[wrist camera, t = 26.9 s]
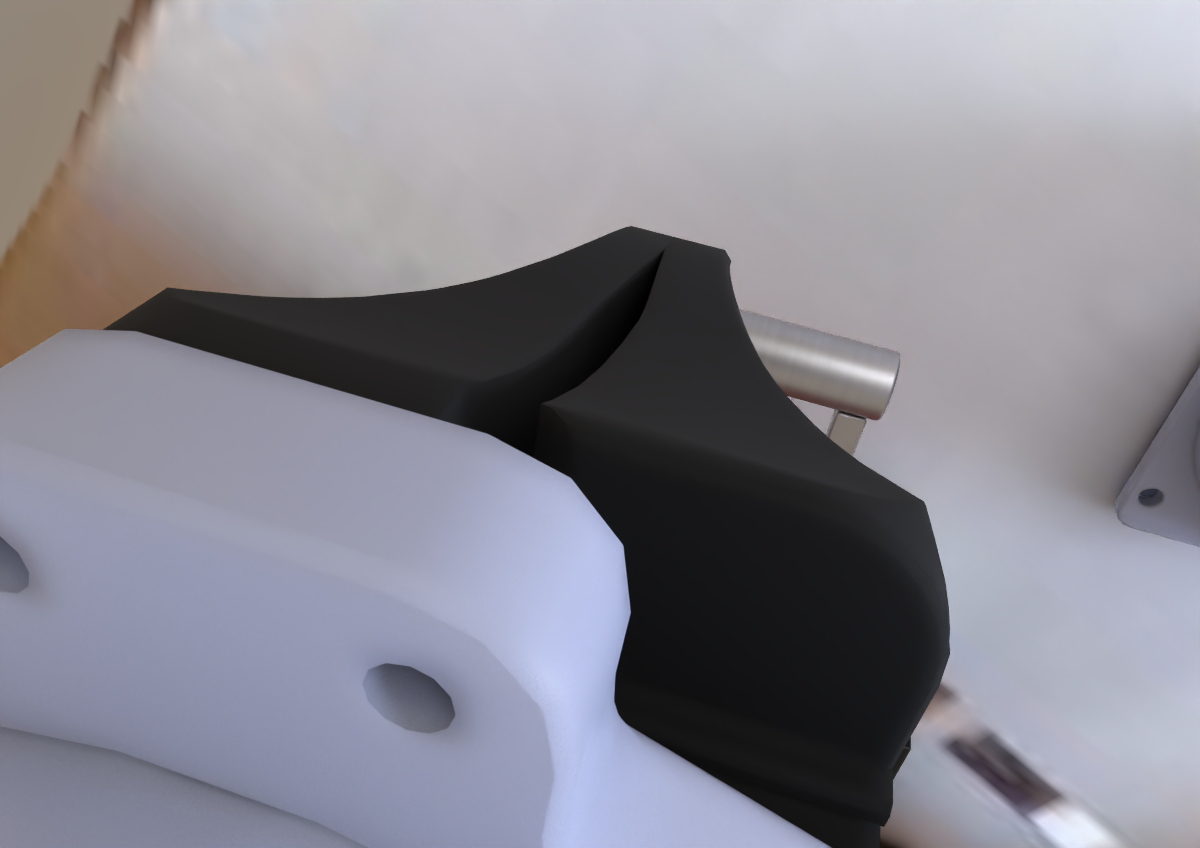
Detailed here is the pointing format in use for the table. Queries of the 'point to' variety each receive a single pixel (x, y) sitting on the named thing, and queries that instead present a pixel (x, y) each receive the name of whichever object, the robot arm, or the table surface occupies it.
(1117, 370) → the table surface
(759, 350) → the drawer
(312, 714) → the robot arm
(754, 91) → the table surface
